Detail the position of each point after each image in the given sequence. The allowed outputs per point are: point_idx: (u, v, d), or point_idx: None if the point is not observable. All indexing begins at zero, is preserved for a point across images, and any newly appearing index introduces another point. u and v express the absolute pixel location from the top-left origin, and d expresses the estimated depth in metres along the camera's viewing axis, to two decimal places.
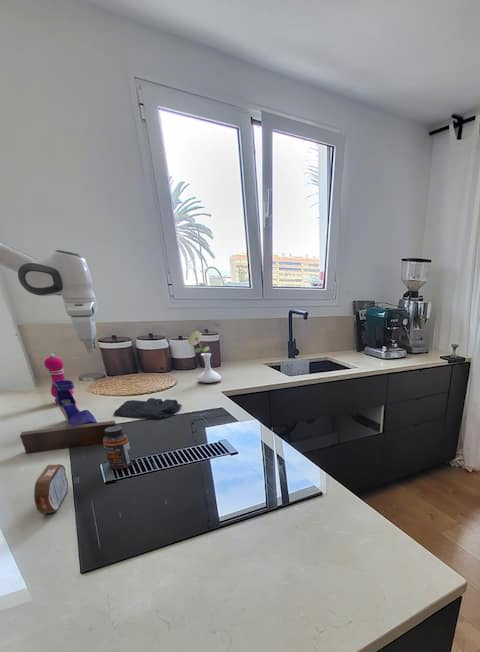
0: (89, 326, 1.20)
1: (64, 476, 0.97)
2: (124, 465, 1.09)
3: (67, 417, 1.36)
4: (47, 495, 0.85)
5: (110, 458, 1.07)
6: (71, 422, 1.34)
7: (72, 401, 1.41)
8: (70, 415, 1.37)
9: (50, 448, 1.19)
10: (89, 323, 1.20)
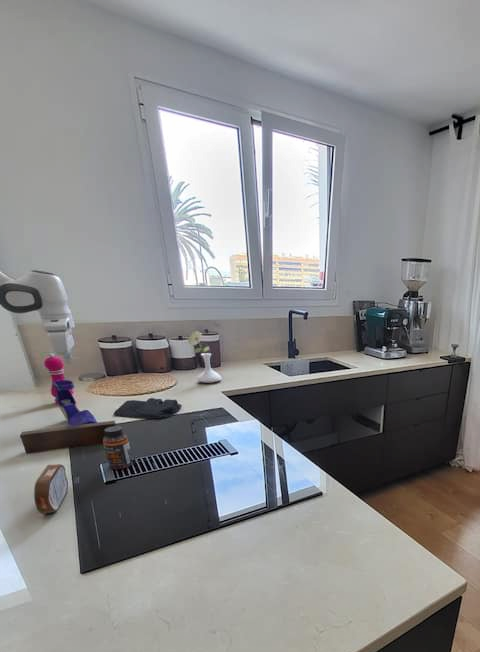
0: (64, 340, 1.29)
1: (64, 476, 0.97)
2: (124, 465, 1.09)
3: (67, 417, 1.36)
4: (47, 495, 0.85)
5: (110, 458, 1.07)
6: (71, 422, 1.34)
7: (72, 401, 1.41)
8: (70, 415, 1.37)
9: (50, 448, 1.19)
10: (64, 337, 1.29)
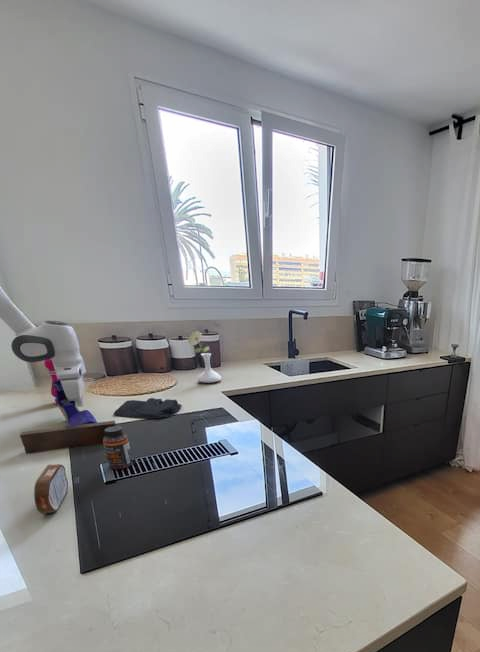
0: (77, 387, 1.34)
1: (64, 476, 0.97)
2: (124, 465, 1.09)
3: (67, 417, 1.36)
4: (47, 495, 0.85)
5: (110, 458, 1.07)
6: (71, 422, 1.34)
7: (72, 401, 1.41)
8: (70, 415, 1.37)
9: (50, 448, 1.19)
10: (77, 385, 1.34)
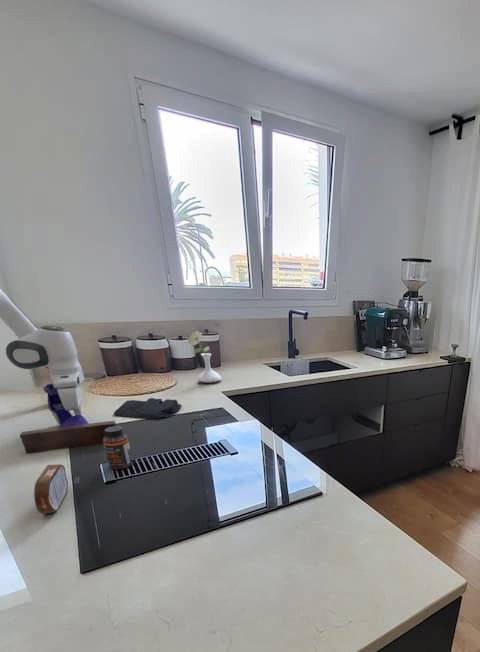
0: (75, 397, 1.27)
1: (64, 476, 0.97)
2: (124, 465, 1.09)
3: (59, 422, 1.32)
4: (47, 495, 0.85)
5: (110, 458, 1.07)
6: None
7: None
8: (62, 420, 1.32)
9: (50, 448, 1.19)
10: (74, 394, 1.27)
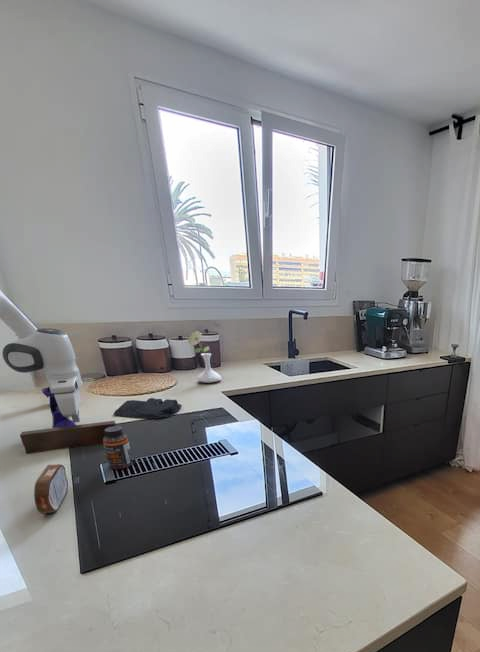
0: (72, 402, 1.21)
1: (64, 476, 0.97)
2: (124, 465, 1.09)
3: (53, 425, 1.29)
4: (47, 495, 0.85)
5: (110, 458, 1.07)
6: None
7: None
8: (57, 423, 1.29)
9: (50, 448, 1.19)
10: (72, 399, 1.21)
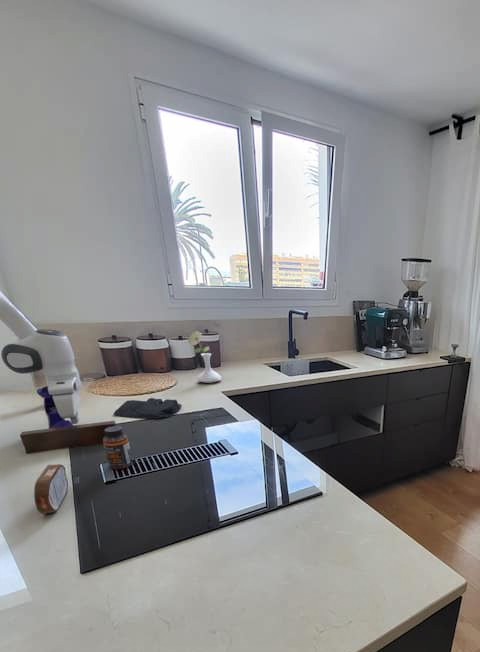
0: (71, 404, 1.21)
1: (64, 476, 0.97)
2: (124, 465, 1.09)
3: (49, 426, 1.28)
4: (47, 495, 0.85)
5: (110, 458, 1.07)
6: None
7: None
8: (53, 424, 1.29)
9: (50, 448, 1.19)
10: (71, 401, 1.21)
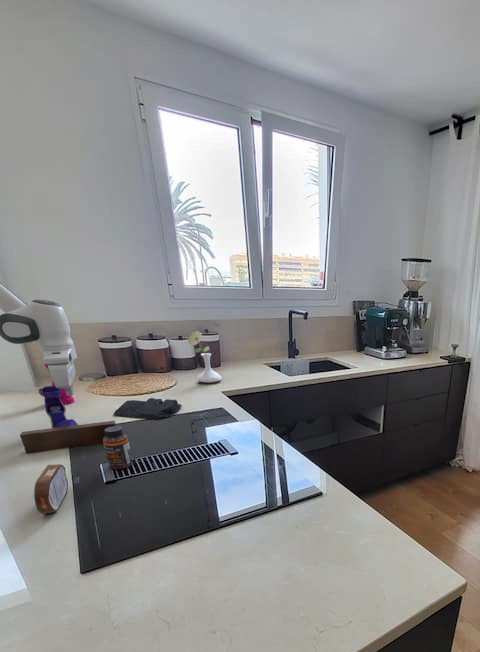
0: (66, 374, 1.22)
1: (64, 476, 0.97)
2: (124, 465, 1.09)
3: (52, 426, 1.28)
4: (47, 495, 0.85)
5: (110, 458, 1.07)
6: None
7: (62, 408, 1.33)
8: (56, 424, 1.29)
9: (50, 448, 1.19)
10: (66, 371, 1.22)
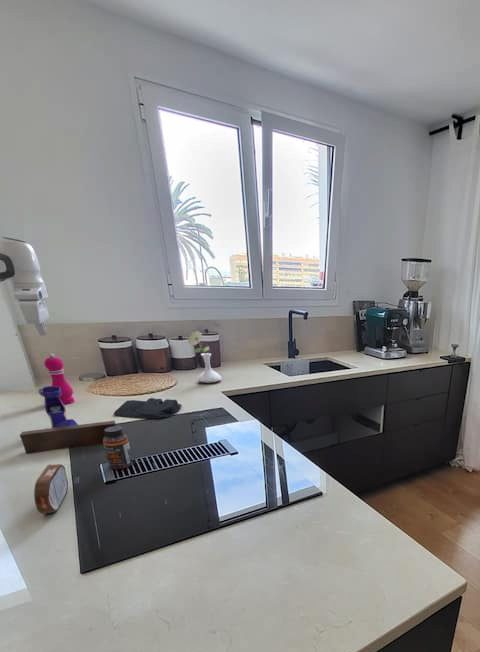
0: (36, 310, 1.27)
1: (64, 476, 0.97)
2: (124, 465, 1.09)
3: (52, 426, 1.28)
4: (47, 495, 0.85)
5: (110, 458, 1.07)
6: None
7: (62, 408, 1.33)
8: (56, 424, 1.29)
9: (50, 448, 1.19)
10: (36, 307, 1.27)
